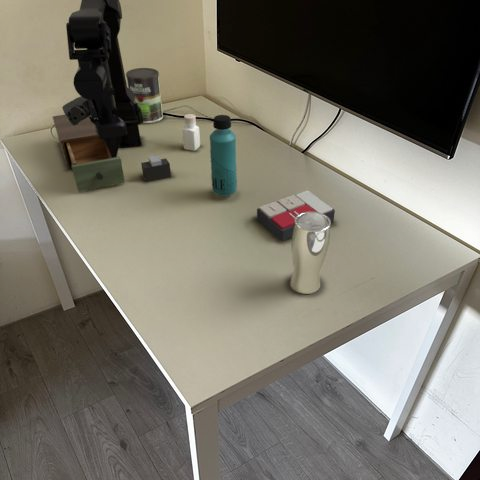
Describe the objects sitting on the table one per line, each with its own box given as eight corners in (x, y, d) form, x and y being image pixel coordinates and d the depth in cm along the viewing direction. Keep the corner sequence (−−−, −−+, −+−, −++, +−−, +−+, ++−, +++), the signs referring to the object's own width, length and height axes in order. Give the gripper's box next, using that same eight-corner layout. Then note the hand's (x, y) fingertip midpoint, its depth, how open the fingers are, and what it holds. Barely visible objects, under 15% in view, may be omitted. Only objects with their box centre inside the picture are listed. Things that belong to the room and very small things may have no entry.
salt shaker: (183, 149, 142) (180, 117, 135) (189, 144, 145) (186, 112, 138) (195, 151, 141) (193, 119, 134) (201, 146, 143) (199, 114, 137)
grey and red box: (256, 205, 111) (308, 187, 116) (256, 221, 114) (307, 202, 119) (281, 228, 104) (336, 207, 109) (281, 244, 107) (334, 223, 112)
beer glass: (285, 274, 98) (290, 211, 88) (318, 272, 99) (327, 209, 88) (290, 296, 93) (297, 232, 83) (325, 294, 94) (335, 230, 83)
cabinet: (115, 161, 136) (110, 132, 131) (68, 169, 133) (60, 140, 127) (103, 137, 149) (98, 109, 143) (60, 144, 145) (52, 116, 139)
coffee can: (158, 124, 156) (153, 78, 146) (128, 122, 157) (121, 76, 147) (167, 112, 163) (162, 68, 153) (138, 111, 164) (131, 66, 154)
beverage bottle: (238, 189, 124) (237, 111, 110) (235, 202, 120) (234, 122, 106) (213, 188, 125) (210, 110, 111) (210, 201, 120) (205, 121, 106)
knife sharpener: (167, 171, 132) (165, 153, 128) (171, 177, 129) (169, 159, 126) (143, 176, 130) (140, 158, 126) (146, 182, 127) (143, 163, 124)
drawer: (126, 184, 125) (121, 160, 120) (79, 193, 121) (72, 169, 117) (111, 155, 137) (107, 132, 132) (68, 163, 134) (62, 140, 129)
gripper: (54, 75, 106) (71, 143, 117) (65, 102, 94) (84, 176, 105) (104, 69, 109) (116, 135, 120) (121, 95, 97) (133, 167, 108)
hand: (111, 152), depth 113 cm, fingers open, 5 cm apart
